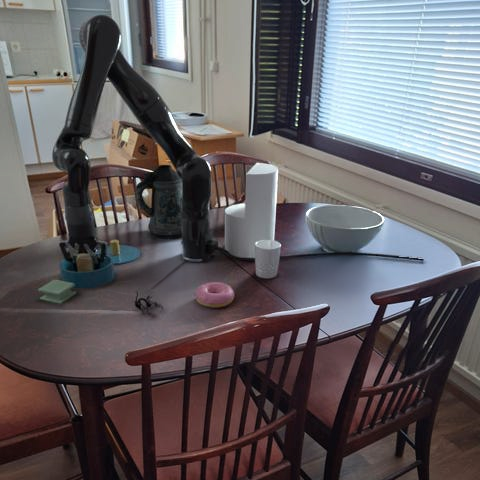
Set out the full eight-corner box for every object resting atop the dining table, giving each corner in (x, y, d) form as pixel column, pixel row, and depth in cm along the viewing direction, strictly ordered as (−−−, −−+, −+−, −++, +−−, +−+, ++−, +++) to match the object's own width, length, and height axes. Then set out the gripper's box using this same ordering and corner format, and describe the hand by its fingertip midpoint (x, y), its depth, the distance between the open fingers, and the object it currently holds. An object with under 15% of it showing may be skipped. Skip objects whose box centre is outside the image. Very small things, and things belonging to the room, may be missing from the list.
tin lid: (149, 252, 165) (148, 236, 162) (124, 269, 151) (122, 253, 149) (109, 245, 169) (107, 230, 166) (81, 261, 156) (78, 245, 153)
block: (97, 274, 147) (94, 253, 143) (94, 280, 143) (90, 258, 139) (83, 274, 147) (80, 252, 143) (79, 280, 143) (75, 258, 139)
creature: (163, 307, 132) (134, 302, 131) (166, 290, 130) (136, 285, 128) (161, 321, 126) (130, 316, 124) (164, 304, 123) (133, 298, 122)
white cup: (281, 271, 153) (283, 241, 148) (275, 281, 146) (277, 250, 141) (258, 267, 155) (259, 238, 150) (250, 277, 148) (251, 246, 143)
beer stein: (201, 231, 183) (199, 165, 171) (168, 247, 169) (164, 175, 156) (167, 223, 191) (164, 159, 178) (133, 237, 176) (127, 168, 164)
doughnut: (239, 307, 131) (239, 294, 129) (199, 312, 128) (199, 298, 126) (228, 290, 140) (228, 277, 138) (191, 294, 137) (191, 281, 135)
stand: (76, 294, 136) (74, 283, 134) (60, 305, 130) (58, 293, 128) (56, 290, 138) (54, 279, 136) (39, 300, 132) (37, 289, 130)
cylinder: (277, 243, 174) (282, 164, 160) (268, 261, 160) (273, 176, 146) (231, 238, 178) (232, 160, 164) (219, 255, 163) (219, 171, 149)
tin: (124, 273, 149) (122, 256, 146) (95, 293, 137) (92, 276, 134) (83, 265, 153) (80, 249, 151) (51, 284, 141) (48, 267, 138)
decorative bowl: (293, 255, 164) (296, 221, 158) (313, 231, 186) (316, 201, 180) (372, 269, 156) (378, 233, 150) (383, 242, 177) (389, 210, 171)
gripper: (108, 215, 139) (114, 269, 147) (59, 214, 139) (68, 268, 147) (101, 224, 132) (109, 279, 141) (50, 223, 132) (60, 278, 141)
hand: (88, 273), depth 144 cm, fingers open, 5 cm apart
